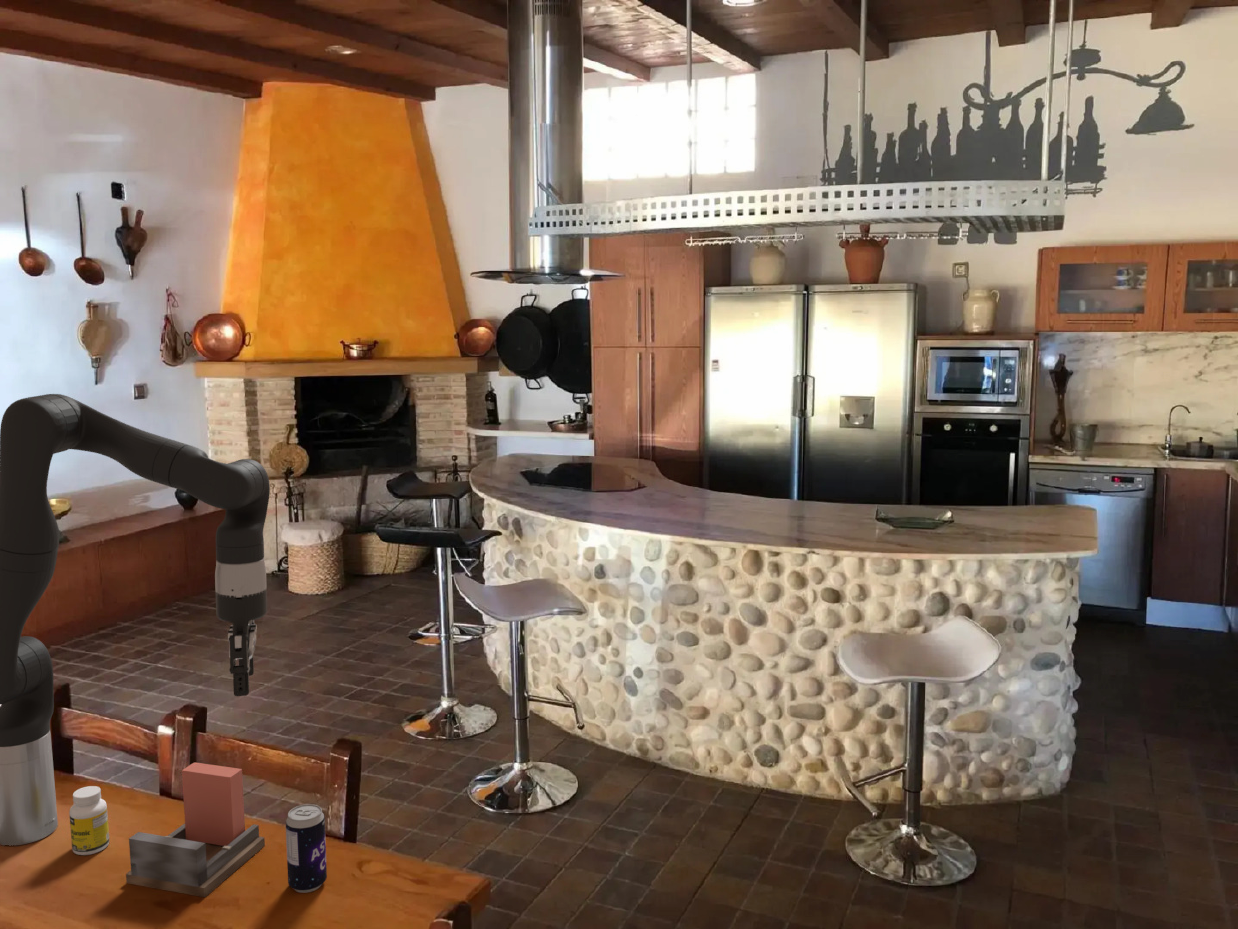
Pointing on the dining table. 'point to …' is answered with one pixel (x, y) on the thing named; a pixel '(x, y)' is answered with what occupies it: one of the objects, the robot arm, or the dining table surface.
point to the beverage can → (306, 848)
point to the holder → (188, 860)
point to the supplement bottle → (88, 821)
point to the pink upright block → (213, 803)
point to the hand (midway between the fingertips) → (244, 685)
